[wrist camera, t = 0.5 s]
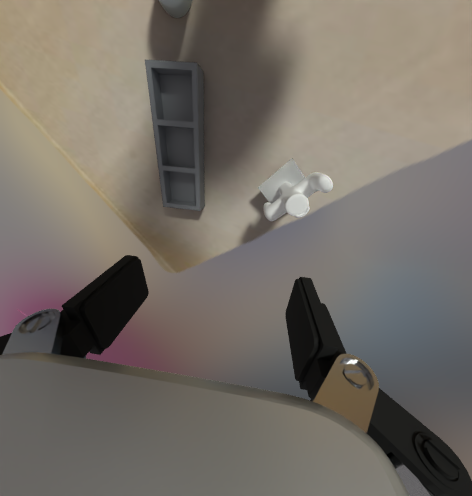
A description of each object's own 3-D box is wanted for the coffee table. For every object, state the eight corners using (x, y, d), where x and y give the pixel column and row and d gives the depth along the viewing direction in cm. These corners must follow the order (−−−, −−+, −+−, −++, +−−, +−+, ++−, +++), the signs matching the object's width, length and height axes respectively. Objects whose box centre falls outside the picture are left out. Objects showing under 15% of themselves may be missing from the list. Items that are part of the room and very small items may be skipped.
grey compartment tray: (156, 68, 28) (144, 59, 25) (203, 71, 28) (196, 62, 25) (170, 202, 39) (163, 206, 36) (204, 206, 38) (200, 210, 36)
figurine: (253, 187, 35) (250, 209, 22) (294, 152, 32) (318, 153, 19) (274, 214, 38) (282, 248, 25) (315, 184, 34) (350, 205, 21)
